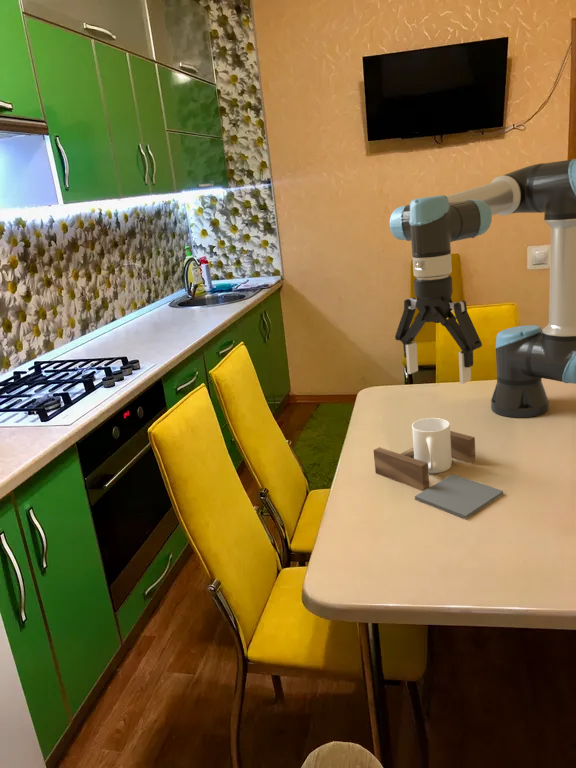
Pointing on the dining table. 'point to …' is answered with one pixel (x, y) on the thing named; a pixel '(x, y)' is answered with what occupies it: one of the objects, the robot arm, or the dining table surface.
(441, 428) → the mug
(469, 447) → the frame
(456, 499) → the coaster
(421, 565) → the dining table surface
